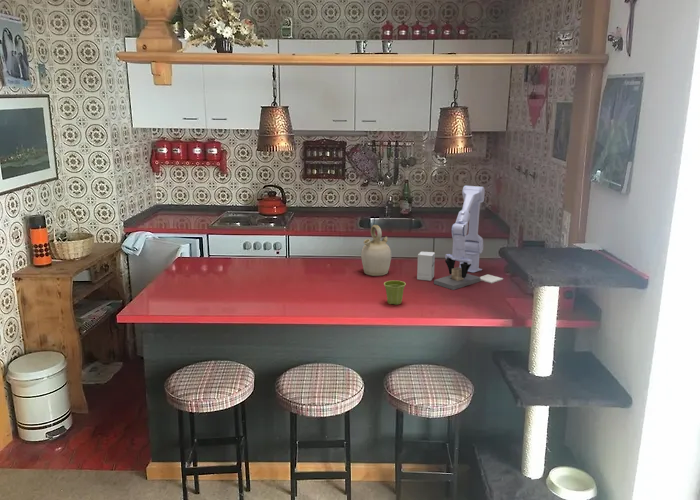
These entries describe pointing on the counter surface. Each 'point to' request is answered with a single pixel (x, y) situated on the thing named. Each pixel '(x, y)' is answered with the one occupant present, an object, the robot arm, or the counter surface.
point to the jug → (376, 254)
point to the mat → (490, 278)
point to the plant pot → (394, 291)
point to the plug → (457, 274)
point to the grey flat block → (454, 284)
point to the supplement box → (425, 265)
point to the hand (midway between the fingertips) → (457, 275)
